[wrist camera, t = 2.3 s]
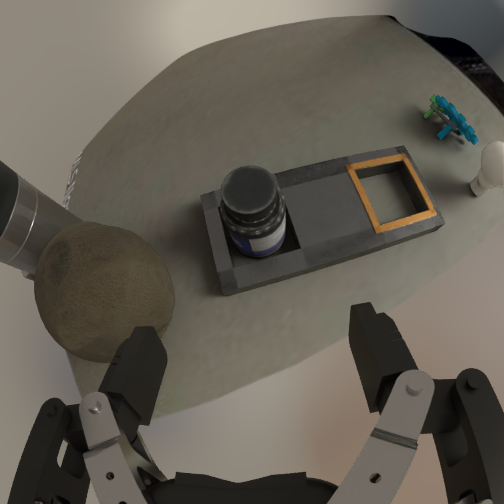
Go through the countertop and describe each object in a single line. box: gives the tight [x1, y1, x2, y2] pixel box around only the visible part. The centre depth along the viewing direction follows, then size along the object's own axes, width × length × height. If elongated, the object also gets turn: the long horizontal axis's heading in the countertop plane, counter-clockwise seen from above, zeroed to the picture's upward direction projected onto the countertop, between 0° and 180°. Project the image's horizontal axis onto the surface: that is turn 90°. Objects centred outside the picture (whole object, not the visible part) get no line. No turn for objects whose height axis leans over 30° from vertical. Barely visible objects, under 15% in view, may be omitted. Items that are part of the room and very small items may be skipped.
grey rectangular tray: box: [200, 146, 445, 296], centre depth 32 cm, size 28×12×3 cm, turn 105°
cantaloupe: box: [34, 222, 175, 363], centre depth 25 cm, size 14×14×15 cm
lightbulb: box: [470, 141, 504, 196], centre depth 26 cm, size 6×6×11 cm
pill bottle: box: [220, 166, 286, 258], centre depth 28 cm, size 6×6×11 cm
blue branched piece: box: [424, 95, 479, 145], centre depth 33 cm, size 11×6×10 cm
